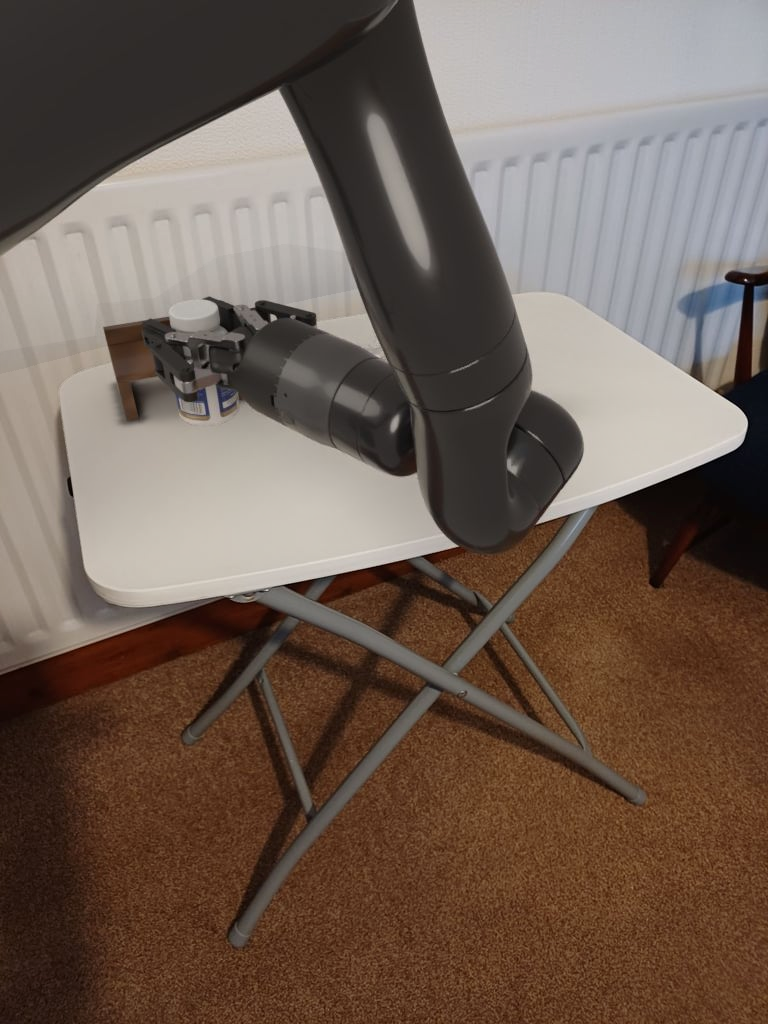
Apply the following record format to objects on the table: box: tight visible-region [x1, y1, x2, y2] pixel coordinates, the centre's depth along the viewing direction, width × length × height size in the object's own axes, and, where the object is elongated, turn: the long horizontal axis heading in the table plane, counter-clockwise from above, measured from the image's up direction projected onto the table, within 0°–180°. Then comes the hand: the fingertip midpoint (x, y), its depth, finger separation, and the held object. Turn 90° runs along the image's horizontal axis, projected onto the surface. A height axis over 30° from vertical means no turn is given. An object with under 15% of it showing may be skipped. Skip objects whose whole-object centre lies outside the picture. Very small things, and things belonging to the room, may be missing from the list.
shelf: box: [102, 316, 244, 422], centre depth 94 cm, size 14×9×8 cm, turn 112°
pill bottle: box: [168, 298, 240, 427], centre depth 67 cm, size 5×5×10 cm
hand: (177, 319), depth 66 cm, fingers closed on pill bottle, 5 cm apart
